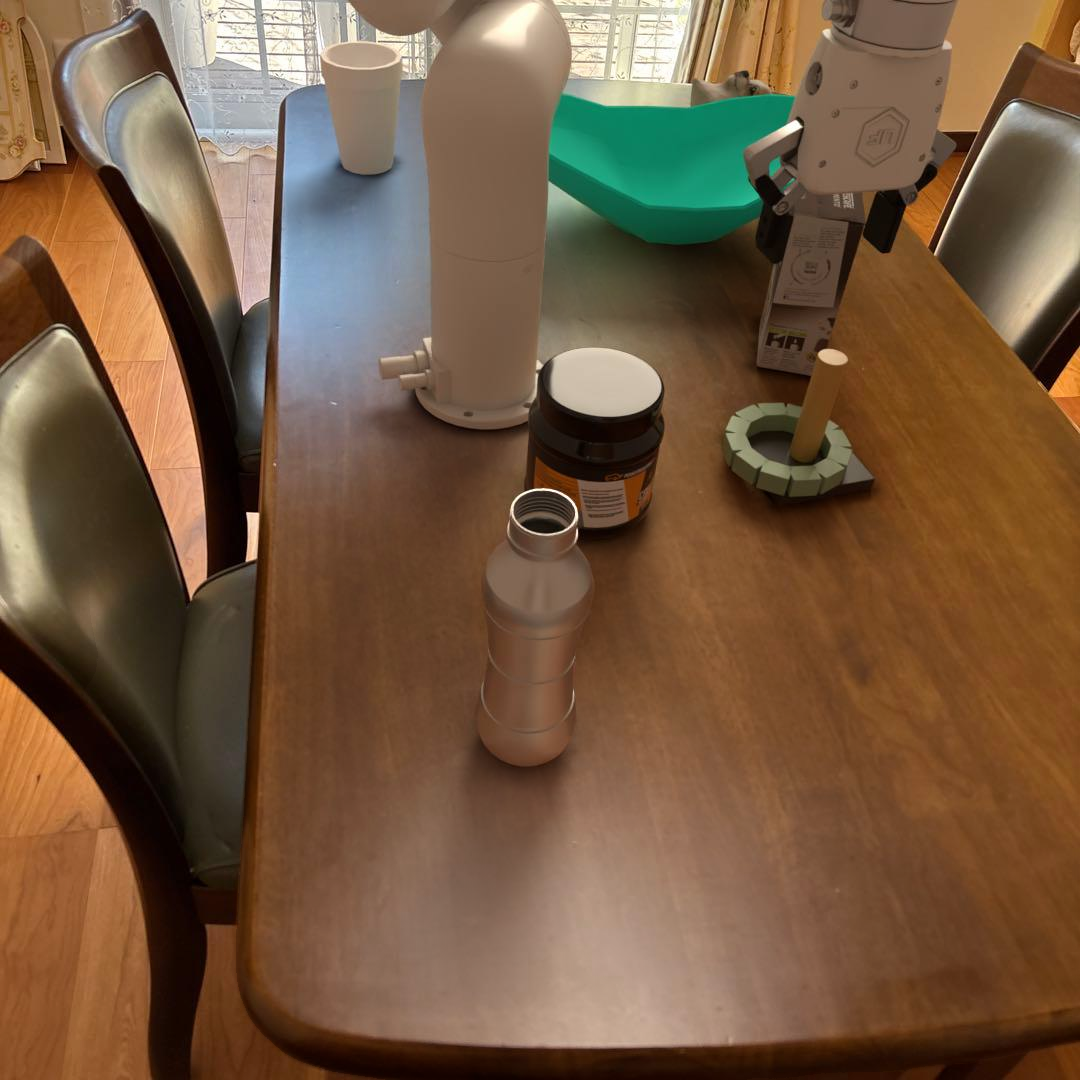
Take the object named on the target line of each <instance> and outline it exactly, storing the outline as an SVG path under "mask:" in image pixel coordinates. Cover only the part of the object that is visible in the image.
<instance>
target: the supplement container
mask: <svg viewBox="0 0 1080 1080" xmlns="http://www.w3.org/2000/svg"><path fill="white" fill-rule="evenodd" d="M664 383H665V382H664V381H663V378H662V377H661V375H660V373H659V372H658V371H657V370H656V369H655V368H654V367H653V366H652V365H651V364H650V363H648V362H647V361H645V360H644V359H642V358H641V357H638V356H637V355H634V354H631V353H629V352H626V351H623V350H619V349H615V348H610V347H602V346H601V347H600V346H585V347H578V348H573V349H568V350H565V351H562V352H560V353H558V354H555V355H554V356H552V357H550V358H549V359H548V360H547V361H546V362H545V363H543V366H542V368H541V370H540V372H539V374H538V380H537V393H536V397H535V399H534V400H533V402H532V404H531V406H530V409H529V413H528V421H527V426H528V437H527V451H526V465H525V476H524V481H523V493H524V492H526V491H529V490H533V489H551V490H555V491H558V492H561V493H563V494H564V495H566V496H568V497H569V498H570V499H571V500H572V501H573V502H574V503H575V505H576V507H577V511H578V523H577V529H578V538H579V539H588V540H589V539H590V540H591V539H593V540H595V539H606V538H611V537H615V536H619V535H622V534H624V533H626V532H628V531H630V530H632V529H633V528H635V526H636V525H638V524H639V523H640V522H642V520H643V519H644V517H645V516H646V515H647V514H648V511H649V509H650V506H651V503H652V499H653V498H652V497H653V486H654V480H655V476H656V475H655V474H656V471H657V470H656V469H657V464H658V459H659V453H660V447H661V445H662V443H663V438H664V436H665V429H666V427H665V419H664V418H665V417H664V415H663V413H662V409H663V408H662V407H663V404H664V397H665V384H664Z"/></svg>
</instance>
